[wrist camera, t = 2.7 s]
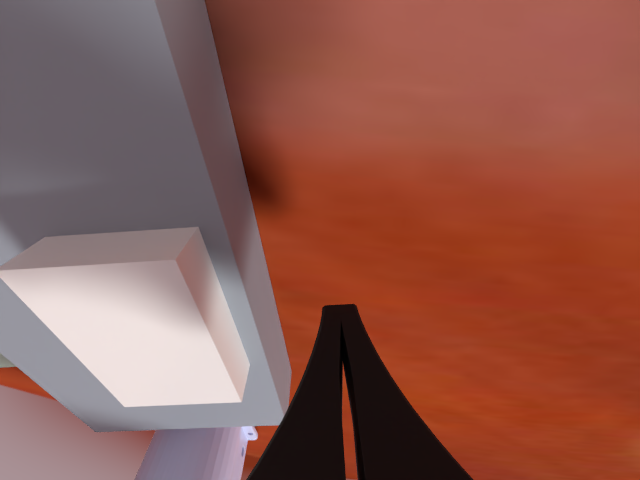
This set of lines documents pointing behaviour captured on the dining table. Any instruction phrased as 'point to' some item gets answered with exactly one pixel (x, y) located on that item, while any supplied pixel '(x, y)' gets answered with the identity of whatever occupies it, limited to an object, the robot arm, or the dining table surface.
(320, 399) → the robot arm
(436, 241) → the dining table surface
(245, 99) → the dining table surface
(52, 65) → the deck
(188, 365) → the pale pink block
